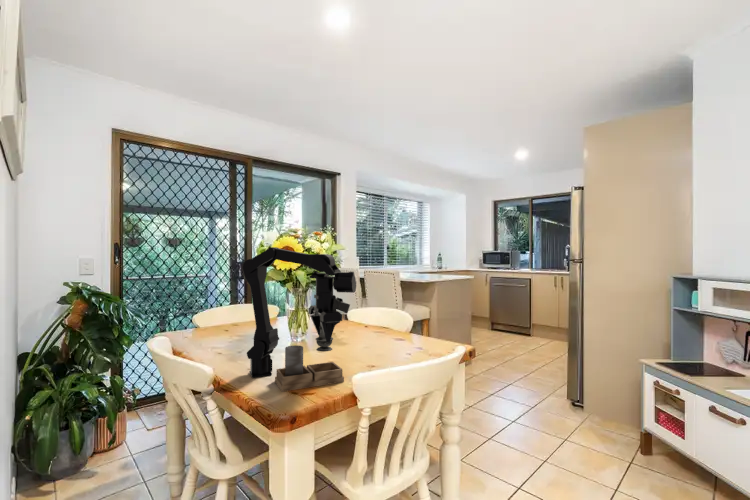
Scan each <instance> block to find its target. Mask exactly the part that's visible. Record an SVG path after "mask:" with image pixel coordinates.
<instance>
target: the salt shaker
mask: <svg viewBox="0 0 750 500" xmlns="http://www.w3.org/2000/svg"><path fill="white" fill-rule="evenodd" d="M320 321H321V319H320ZM319 328H320V335H318V337H316V338H315V341H316V342H315V343H316V344H317V346H318V347H317V348H316V351H317V352H321V353H322V352H325V353H326V352H331V351H333V347H331V345H332V343H333V340H334V338H333V337H331V340H330V342H326V339H325V336H324V333H323V330H322V327H321V324H320V327H319Z"/></svg>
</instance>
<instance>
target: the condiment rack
mask: <svg viewBox="0 0 750 500" xmlns="http://www.w3.org/2000/svg"><path fill="white" fill-rule="evenodd" d="M284 349H285V350H284V355H285V356H284V365H285V366H284V367H282V368H276V376H274V383H275V384H276V385H277V386H278V388H279V390H280V391H281V392H282V393H283V392H288V391H294V390H300V389H307V388H313V387H319V386H320V387H321V386H326V385H331V384H339V383H344V382H345V377H344V376H343V368H341V367H340V366H339V365H338V364H337V363H335V362H334V361H328V362H320V363H314V364H313V363H312V364H307V365H306V366H305V365H304V346H303V345H288V346H286V347H284Z"/></svg>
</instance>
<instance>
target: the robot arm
mask: <svg viewBox="0 0 750 500" xmlns="http://www.w3.org/2000/svg"><path fill="white" fill-rule="evenodd" d="M276 260H278V261H283V262H289V263H292V264H298V265H303V266H306V267H307V268H310V269H312V270H314V271H313V273H312V274H311V275H309V279H315V294H314V295H313V298H314V299H315V305H314V304H313V305H310V306H309V307H308V315H309V317H310V318H311V322H312V323H313V325H314V328H315V330H316V332H317V335H318V336H319V335H320V328H319V327H320V324H321V327H322V330H323V333H324V336H325V339H326V342H330V340H331V337H332V336H333V333H334V330H335V327H336V326H337V325H338V324H339V323H340V322H342V321H343V314H342V313H341V312H343V313H344V314H348V313H349V310H350V306H351V304H350V303H346V302H344V301H343V299H344V298H340V297H336V295H335V294H334V291H336V292H337V293H350V294H351V293H352V294H355V292H356V290H357V280H356V276H355V272H354V271H348V272H347V271H346V272H344V271H343V272H342V271H341V270H340V268H339V267H338V266H337V264H336V259H335V258H334V257H333V255H332V254H329V253H328V254H327V253H323V254H321V253H320V254H319V253H313V254H312V253H304V252H299V251H295V250H294V251H293V250H288V249H284V248H279V247H277V246H276V247H274V246H272V247H271V246H269V247H268V248H267V249H265V250H264V251H262V252H261V253H258V254H257V255H255V256H254V257H252V258H248V259H246V260H245V261H244V262H243V264H242V267H241V269H242V272H243V275H244V279H245V280H246V282H247V283H248V285H249V287H250V293H251V300H252V308H253V315H254V320H255V321H254V322H255V331H254V334H253V345H252V347H251V348H250V349H249V350H247V352H246V357H247V360H250V362H249V363H250V370H249V374H250V377H251V378H259V377H266V376H272V374H273V373H272V372H273V359H272V358H271V354H273V352H274V350H275V349H276V347H277V346H278V345H279V344H278V343H279V341H280V337H279V334H278V333H279V330H278V328H276V327H275V328H273V326H272V323H271V318H270V312H269V306H268V298H267V292H266V285H265V283H266V279H267V275H268V273H267V272H268V268H270V266H271V265H273V264H274V263H275V262H276ZM321 272H322V273H321ZM320 319H321V321H320ZM332 338H333V337H332Z"/></svg>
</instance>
